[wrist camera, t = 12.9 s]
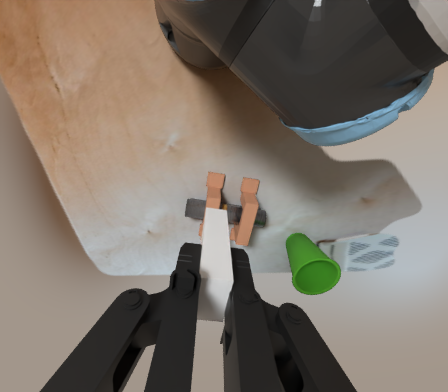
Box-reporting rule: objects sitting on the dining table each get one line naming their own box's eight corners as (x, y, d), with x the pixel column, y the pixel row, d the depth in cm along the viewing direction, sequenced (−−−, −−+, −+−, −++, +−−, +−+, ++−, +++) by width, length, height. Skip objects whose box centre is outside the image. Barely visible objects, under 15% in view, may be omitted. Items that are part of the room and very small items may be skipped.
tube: (186, 211, 45) (184, 219, 42) (188, 195, 43) (186, 203, 40) (259, 221, 47) (262, 230, 43) (263, 207, 45) (267, 215, 42)
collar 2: (243, 177, 42) (247, 188, 37) (258, 179, 42) (264, 191, 37) (229, 238, 48) (231, 255, 43) (243, 239, 48) (246, 257, 43)
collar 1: (208, 171, 41) (207, 182, 36) (224, 174, 42) (225, 185, 36) (198, 234, 47) (196, 250, 42) (212, 235, 48) (212, 252, 42)
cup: (289, 262, 52) (307, 302, 42) (269, 239, 49) (283, 275, 39) (322, 243, 50) (349, 280, 40) (303, 217, 47) (327, 250, 36)
